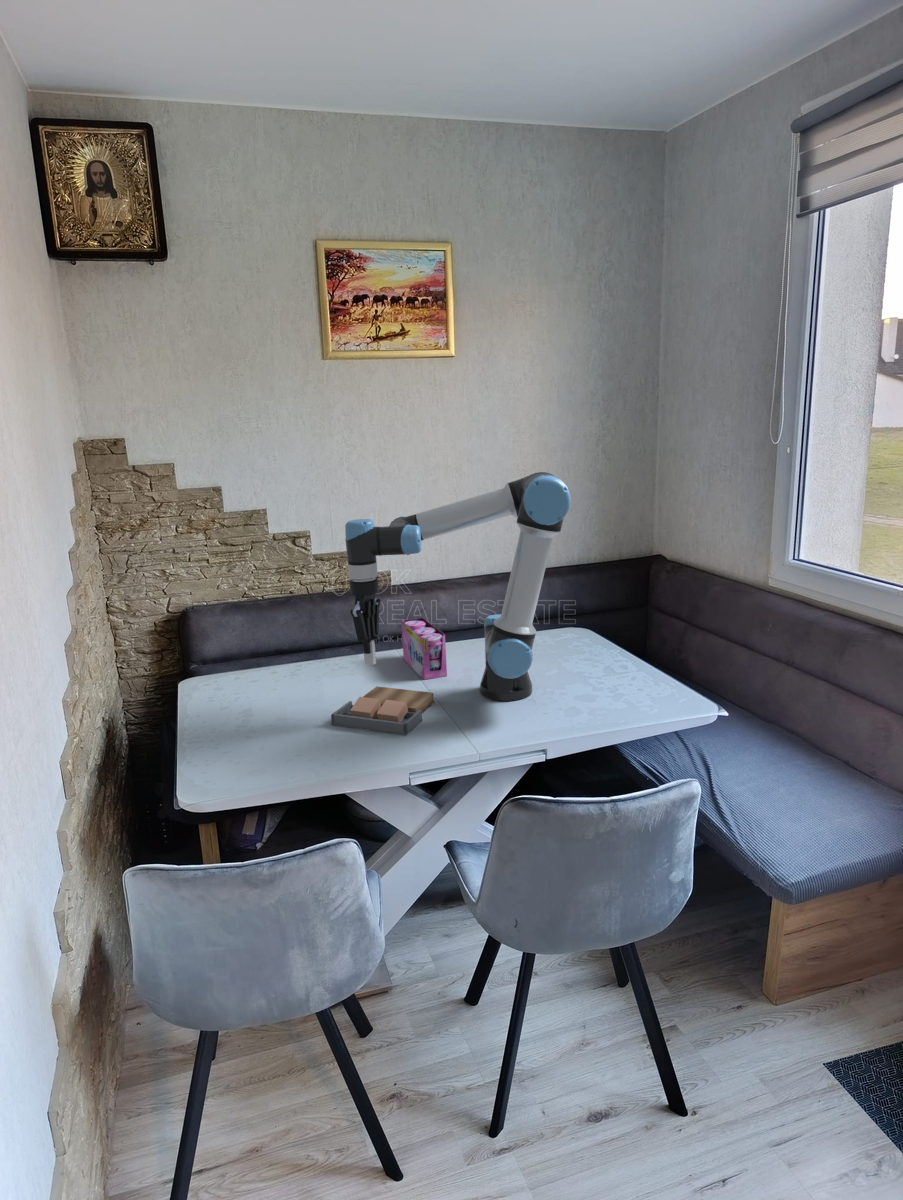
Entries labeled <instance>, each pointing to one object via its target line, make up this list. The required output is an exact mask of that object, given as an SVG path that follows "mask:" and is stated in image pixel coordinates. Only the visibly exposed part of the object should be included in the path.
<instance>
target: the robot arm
mask: <svg viewBox="0 0 903 1200" xmlns="http://www.w3.org/2000/svg"><path fill="white" fill-rule="evenodd" d="M571 499H572V498H571V493H570V490H569V488H568V486H567V484H565V482H563V480H562V479H560V478H558V477H556V476H555V475H554V474H551V473H549V472H547V471H546V472H545V471H539V472H534V473H531V474H529V475H526V476H524V477H522V478H519V479H516V480H513V481H511V482H507V483H505V486H504V487H503V488H500V489H496V490H493V491H489V492H486V493H482V494H480V495H476V496H472V497H469V498H465V499H462V500H459V501H456V502H453V503H449V504H446V505H442V506H438V507H435V508H431V509H429V510H425V511H421V512H417V513H415V514H410V515H408V516H399V517H396V518H394V519H393V520H392V521H391V522H390V524H389V525H388V526H375V524H374V520H372V519H369V518H358V519H352V520H348V521H347V522H346V523H345V526H344V527H345V528H344V529H345V538H344V539H345V540H344V541H345V548H346V549H345V550H346V556H347V557H346V558H347V565H348V566H347V570H348V578H349V579H350V580H349V591H350V594H351V595H352V596H353V597H355V598H354V609H353V608H352V609H350V610H349V612H350V615H351V617H352V619H353V623H354V629H355V633H356V639H357V642H361V643H362V647H363V658H364V665H372V666H373V665H376V664H377V659H376V658H377V657H376V656H377V655H376V644H375V643H376V642H375V640H378V638H379V636H378V635H379V629H380V625H379V624H380V606H381V603H382V602H381V599H380V598H377V597H376V594H378V593H379V591H380V588H379V587H380V586H379V579H378V578H377V577H378V576H379V575H378V574H379V573H378V565H377V564H378V563H377V562H378V561H377V556H379V557H380V556H381V557H382V556H398V555H399V556H401V555H402V556H405V555H407V556H410V555H414V554H415V555H416V554H420V553H421V551H422V541H425V540H428V539H432V538H436V537H438V536H441V535H442V536H443V535H445V534H449V533H452V532H456V531H459V530H463V529H467V528H471V527H474V526H477V525H480V524H485V523H488V522H491V521H495V520H498V519H501V518H504V517H505V518H506V517H509V516H513V517H514V518H517V519H516V524H517V526H518V527H519V529H520V531H519V536H518V539H517V544H516V549H515V552H514V556H513V557H514V558H513V561H512V566H511V571H510V576H509V580H508V585H507V588H506V591H505V597H504V602H503V605H502V610H501V613H500V614H499V613H497V614H492V615H488V616H486V617H485V619H484V625H483V628H484V651H485V652H484V654H485V658H484V659H485V666H484V667H485V668H484V670H483V673H482V678H481V681H480V683H479V689H480V690H479V691H480V695H481V696H483V697H484V698H487V699H490V700H494V701H502V702H509V701H510V702H511V701H518V700H523V699H525V698H528V697H529V696H530V695H531V694H532V693H533V683H532V680H531V677H530V674H529V672H528V671H529V670H530V668H531V666H532V662H533V646H534V643H535V639H536V635H537V629H536V627H534V624H533V621H534V618H535V613H536V610H537V605H538V600H539V597H540V592H541V588H542V585H543V580H544V578H545V577H544V576H545V572H546V568H547V564H548V560H549V556H550V551H551V548H552V544H553V539H554V537H555V536H557V535H559V534H560V533H561V531H562V526H563V523H564V519H565V517H566V516H567V514H568V513H569V511H570V507H571Z"/></svg>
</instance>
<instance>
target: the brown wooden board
mask: <svg viewBox="0 0 903 1200" xmlns="http://www.w3.org/2000/svg"><path fill="white" fill-rule="evenodd" d="M362 697H366V698H374V699H379V700H380V704H381V707H382V705H383V704H384V702H385V701H386V700H393V701H402V702H406V703H407V708H408V712H414V713H416V712H417V711H418V710H422V714H423V713H424V712H425V711H427V710H428V709H429V708H430V707H431V706H432V705H433V704H434V703H435V701H434V700H435V699H434V692H429V691H419V690H413V689H403V688H396V687H395V688H394V687H385V686H377V685H376V686H375V687H374V688H373V689H371V690H370V691H367V693H365V694H364V695H363V696H362Z"/></svg>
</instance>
